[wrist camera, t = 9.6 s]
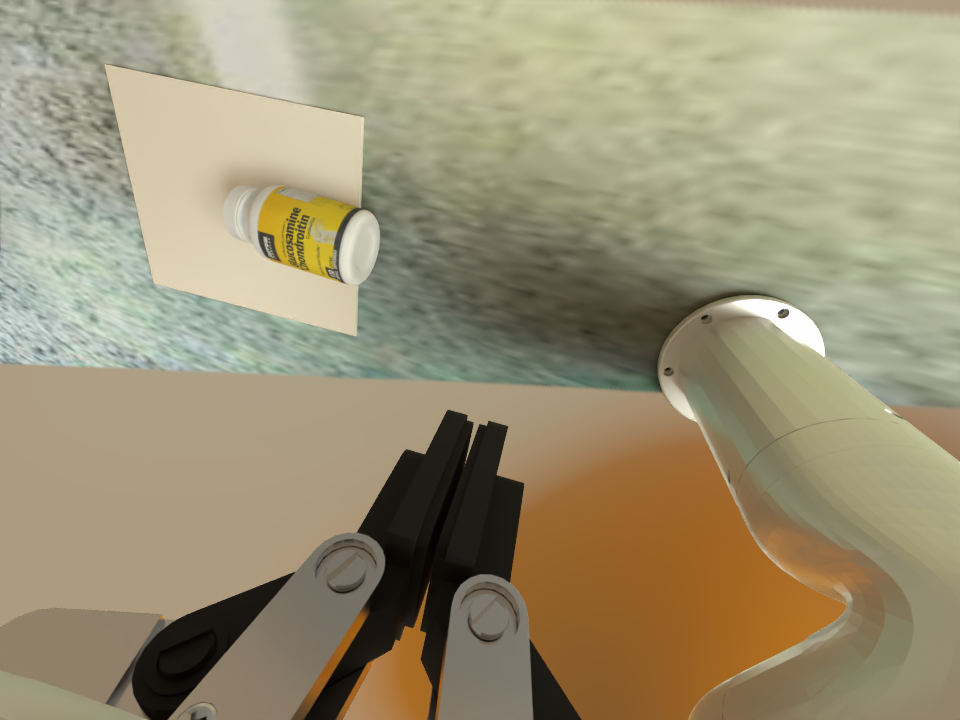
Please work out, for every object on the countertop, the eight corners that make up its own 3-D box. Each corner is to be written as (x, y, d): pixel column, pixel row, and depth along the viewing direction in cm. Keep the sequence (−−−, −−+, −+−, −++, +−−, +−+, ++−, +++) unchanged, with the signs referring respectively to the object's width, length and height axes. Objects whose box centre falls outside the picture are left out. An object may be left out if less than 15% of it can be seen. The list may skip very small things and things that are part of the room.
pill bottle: (352, 302, 34) (230, 264, 35) (384, 260, 38) (274, 228, 39) (343, 237, 29) (201, 194, 30) (381, 197, 33) (255, 161, 34)
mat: (364, 117, 33) (361, 116, 32) (357, 334, 42) (355, 336, 42) (109, 65, 35) (104, 64, 35) (157, 282, 44) (153, 283, 44)
